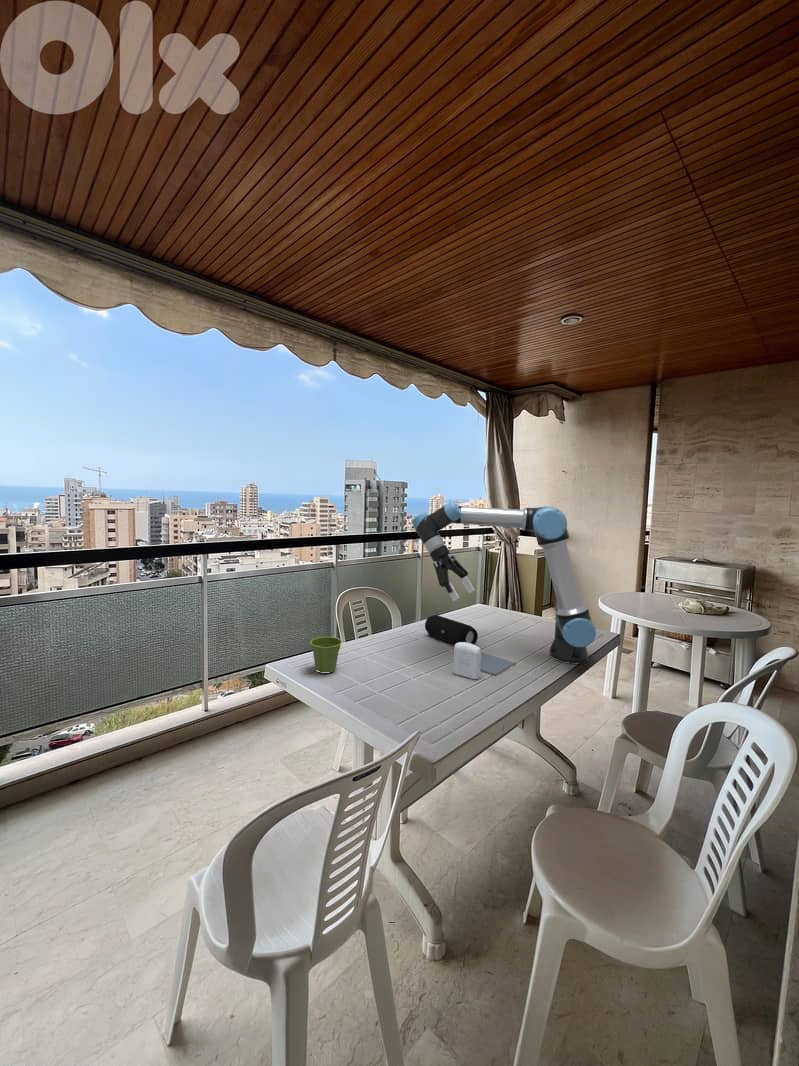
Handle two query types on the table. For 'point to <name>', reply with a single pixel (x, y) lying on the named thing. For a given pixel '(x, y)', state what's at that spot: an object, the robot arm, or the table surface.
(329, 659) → the plant pot
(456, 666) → the photo printer
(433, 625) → the portable speaker
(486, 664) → the rubber mat
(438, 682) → the table surface
